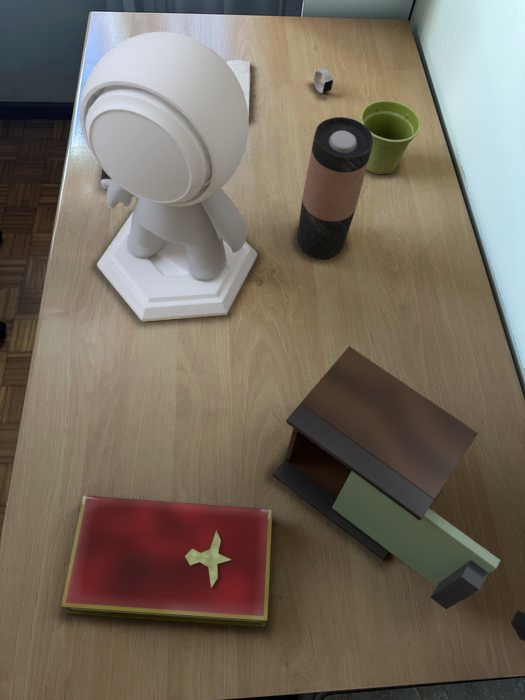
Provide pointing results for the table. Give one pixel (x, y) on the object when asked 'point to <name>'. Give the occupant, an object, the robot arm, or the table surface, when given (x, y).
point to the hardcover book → (170, 561)
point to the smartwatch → (327, 80)
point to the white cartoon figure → (170, 173)
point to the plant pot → (389, 133)
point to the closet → (370, 442)
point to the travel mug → (333, 185)
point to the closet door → (418, 541)
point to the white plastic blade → (242, 76)
